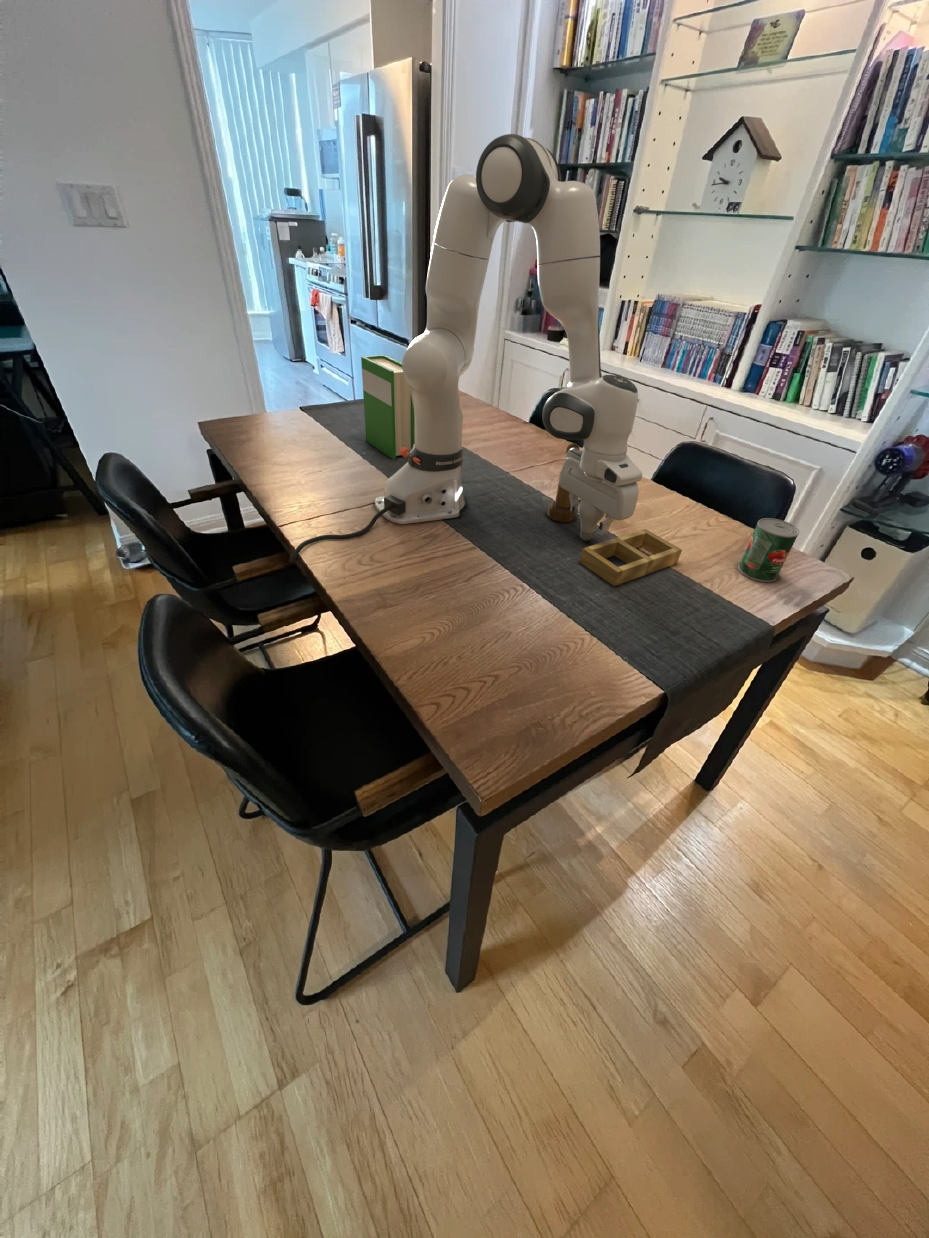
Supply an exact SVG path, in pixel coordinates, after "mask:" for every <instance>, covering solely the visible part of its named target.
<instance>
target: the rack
mask: <svg viewBox="0 0 929 1238" xmlns="http://www.w3.org/2000/svg"><path fill="white" fill-rule="evenodd" d="M641 547H643V548H644V549H646V550H648V551H649V552H651V553H652V554H653V555H652V554H651V555H649V556H648V555H647V554H645V553H643V552H642V551H640V550H639V549H638V548H641ZM682 551H683V549H682V548H680V547H678V546H676V545H674V544H673V543H671V542H670V541H668V540H666V539H664V538H662V537H660V536H659V535H658V534H655V533H654V532H652V531H651V530H648V529H647V528H645V529H642V530H638V531H635V532H632V533H628V534H625V535H622V536H619V537H615V538H612V539H609V540H605V541H602V542H598V543H595V544H593V545H589V546H586V547H583V548H582V550H581V554H580V555H581V556H580V558H579V563H580V564H581V565H583V566H584V567H585V568H587V569H588V570H590V572H593V573H594V574H596V575H597V576H598V577H600V578H601V579H602V580H604V581H606V582H607V583H608V584H610V585H612V586H613V587H616V586H617V587H618V586H619V585H622V584H625V583H627V582H631V581H633V580H636V579H638V578H641V577H644V576H646V575H649V574H652V573H655V572H658V571H660V570H663V569H666V568H668V567H671V566H674V565H676V564H678V562H679V560H680V556H681V553H682ZM611 557H616V558H617V559H619V560H620V561H622V562H624V563H625V564H623V565H620V566H617V565H616V564H614V563H612V562H611V561H610V560H608V558H611Z"/></svg>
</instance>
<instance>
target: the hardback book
mask: <svg viewBox="0 0 929 1238" xmlns="http://www.w3.org/2000/svg"><path fill="white" fill-rule="evenodd" d="M360 360H361V376H362V378H361V380H362V395H363V412H364V413H363V414H364V429H365V431H364V432H365V441H366V442H367V443H369V444H370V445H371V446H373V447H374V448H375V449H377V450H379V451H380V452H381V453H383V454H384V455H386V456H387V457H388V458H390V459H391V460H396V459H397V457H398V456H402V455H401V454H400V452H399V451H400V449H401V448H402V447H406V448H407V449H408V450H409V451H411V450H412V447H413V445H414V444H415V429H414V407H413V402H412V396H411V391H410V386H409V383H408V382H407V380H406V378H405V376H404V373H403V369H402V361H399V360H397V359H395V358H392V357H390V356H388V355H387V354H379V355H378V354H377V355H365V356H361V357H360Z"/></svg>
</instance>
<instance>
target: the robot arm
mask: <svg viewBox="0 0 929 1238" xmlns="http://www.w3.org/2000/svg"><path fill="white" fill-rule="evenodd" d="M441 202H442V203H441V206H440V209H439V213H438V217H437V221H436V225H435V229H434V235H433V240H432V246H431V252H430V259H429V264H428V269H427V276H426V281H425V295H426V305H427V306H426V326H425V330H424V331H423V333H422V334H420V335H418V336H416V337H415V338H414V339H412V341H411V342H410V343H409V345H408V346H407V348H406V350H405V352H404V354H403V356H402V361H401V363H402V369H403V373H404V376H405V378H406V380H407V382H408V383H409V386H410V391H411V396H412V402H413V407H414V429H415V444H414V445H413V447H412V450H411V451H409V450H408V449H407V448H406V447H402V448H401V449H400V451H399V452H400V454H401V455H400V456H402V457H403V458H405V459H406V458H407V462H406V463H405V464H404V465H402V466H401V467H400V468H399V469H397V471H396V472H394V474H392V475H391V476H390V477H389V478H388V479H387V480H386V482H385V483H384V484H385V485H384V490H383V495H381V496H378V497H376V498H375V500H374V507H375V509H376V511H377V513H376V514H374V516H373V517H372V518H371V520H370V521H369V523H368V524H367V525H366V526H365V527H363V528H362V529H360V530H358V531H354V532H351V533H347V534H346V533H345V534H322V535H318V536H316V537H315V536H314V537H311V538H308V539H306V540H304V541H302V542H301V543H299V544H298V545H297V547H295V550H294V551H293V552H292V554H291V556H290V557H289V560H288V563H294V562H295V561H296V559H297V557H298V556H299V554H300V553H301V551H302V550H303V549H304V548H305V547H306V546H309V545H311V544H314V543H317V542H320V541H321V542H322V541H326V540H349V539H353V538H356V537H360V536H362V535H364V534H365V533H367V532H368V531H370V530H371V529H372V528H373V527H374V525H375V524H376V522H377V521H378V519H379V518H380V517H383V518H384V519H386V520H388V521H390V522H391V523H394V524H398V525H408V524H416V523H424V522H431V521H440V520H447V519H454V518H458V517H459V516H460V512H461V510H462V509H463V508H464V507H465V505H466V501H465V497H464V493H463V484H462V466H463V460H464V459H463V458H464V447H463V446H462V442H463V423H464V412H463V410H462V406H461V400H460V392H459V382H460V378H461V376H463V374H465V373H466V372H467V371H468V370H469V368H470V365H471V363H472V360H473V357H474V351H475V343H476V335H477V329H478V328H477V327H478V318H479V317H478V315H479V308H480V303H481V299H482V298H481V297H482V293H483V288H484V284H485V280H486V276H487V271H488V267H489V262H490V258H491V253H492V248H493V243H494V240H495V236H496V234H497V232H498V229H499V228H500V227H501V226H502V224H503V223H505V222H507V223H515V222H518V223H521V224H522V223H523V224H529V225H530V227H531V228H532V229H533V232H534V235H535V239H536V253H537V254H536V256H537V257H536V258H537V263H536V264H537V283H538V290H539V297H540V301H541V304H542V306H543V308H544V310H545V311H546V312H547V313H548V314H549V315H550V316H551V317H553V318H554V319H556V320H557V321H558V322H559V323H560V324H561V326H562V327H563V329H564V331H565V334H566V337H567V348H568V363H569V380H568V383H567V385H566V387H564V388H561V389H560V390H558V391H556V392H555V393H553V394H552V395H550V397H549V398H547V400H546V401H545V403H544V405H543V408H542V413H541V414H542V415H541V416H542V417H541V418H542V423H543V426H544V428H545V430H546V431H547V432H548V434H549V435H551V436H552V437H554V438H556V439H559V440H565V441H566V440H567V441H583V445H582V450H581V449H580V448H579V449H577V448H573V449H570V450H569V451H568V452H567V453H566V455H565V460H564V462H563V464H562V467H561V471H560V472H561V474H560V473H559V477H560V478H558V483H559V484H560V487H562V488H563V489H565V490H567V491H568V492H570V493H569V499H570V503H571V508H570V511H571V512H573V513H574V514H575V515H576V514H579V513H578V506H579V501H578V500H587V501H589V502H590V503H591V505H593V506H594V507H596V508H598V509H599V510H601V511H603V512H604V513H605V515H604V517H605V518H606V519H605V520H603V521H599V526H598V530H600V531H601V532H604V533H605V532H608V531H609V530H610V527H611V524H612V523H614V521H615V520H616V521H618V522H619V521H624V520H628V519H629V518H631V517H633V515H634V513H635V510H636V507H637V503H638V498H639V492H640V488H639V485H638V482H640V481H641V480H642V478H643V471H642V470H641V469H640V468H639V467H638V466H637V465H636V464H635V463H634V462H633V461H632V460H631V458H630V457H629V455H627V452H628V442H629V441H628V440H629V436H630V435H631V432H632V431H633V429H634V425H635V424H634V423H635V419H636V415H637V410H638V409H637V408H638V403H639V391H638V388H637V386H636V384H634V383H633V382H632V381H631V380H630V379H628V378H625V377H623V376H620V375H615V374H602V366H601V365H602V364H601V363H602V362H601V339H600V335H601V334H600V315H599V309H600V308H599V306H600V305H599V302H600V301H599V295H600V274H601V235H600V234H601V232H600V221H599V213H598V205H597V198H596V194H595V192H594V190H593V189H592V187H591V186H590V185H588V184H586V183H584V182H582V181H580V180H579V181H577V180H567V181H562V176H561V170H560V166H559V163H558V160H557V159H556V156H555V155H554V154H553V152H551V151H550V150H549V148H546V147H545V146H544V145H543V144H542V143H540V142H539V141H537V140H536V139H534V138H530V137H524V136H523V135H520V134H516V133H506V134H503V135H500V136H497V137H495V138H493V140H491V141H490V142H489V143H488V144H487V145H486V146H485V148H484V149H483V151H482V153H481V154H480V157H479V159H478V162H477V165H476V172H475V175H474V174H461V175H459V176H456V177H455V178H453V179H452V180H451V181H450V182H449V184H448V186H447V188H446V191H445V194H444V197H443V199H442V201H441Z"/></svg>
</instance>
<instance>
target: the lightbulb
mask: <svg viewBox="0 0 929 1238" xmlns="http://www.w3.org/2000/svg"><path fill="white" fill-rule="evenodd" d="M580 500H581V501H580V503H579V506H578V513H577V514H578V516H579V518H580V535H579V536H580V537H579V538H580V539H581V540H583V541H585V542H586V541H590V540H591V539H592V538H593V537H592V536H593V534H594V532H595V531H596V527H597V525H598V523H600V522H601V520H602V519H603V518H604V517H605V515H606V513H604V512H603V511H601V510H599V509H598V508H596V507H594V506H593V505H591V503H590V502H589V501H587V500H582V499H580Z"/></svg>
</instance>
